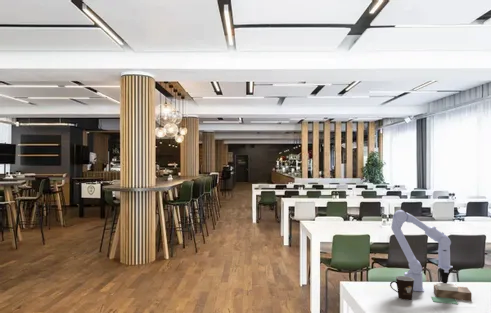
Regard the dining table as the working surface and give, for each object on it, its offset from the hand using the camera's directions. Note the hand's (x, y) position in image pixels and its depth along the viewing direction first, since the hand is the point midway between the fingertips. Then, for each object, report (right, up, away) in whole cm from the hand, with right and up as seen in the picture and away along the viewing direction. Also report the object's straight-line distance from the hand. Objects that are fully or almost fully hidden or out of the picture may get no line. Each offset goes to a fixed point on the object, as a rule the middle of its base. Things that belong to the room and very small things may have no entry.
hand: (444, 282), depth 210 cm
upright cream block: (-3, -1, -8) cm, 8 cm away
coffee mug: (-27, -5, -10) cm, 29 cm away
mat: (-7, -4, -14) cm, 17 cm away
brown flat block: (0, -5, -7) cm, 9 cm away
